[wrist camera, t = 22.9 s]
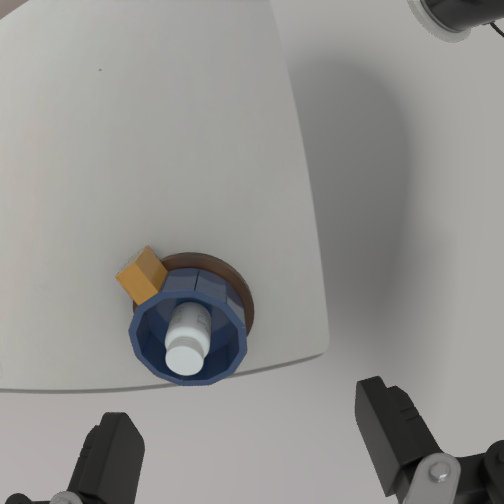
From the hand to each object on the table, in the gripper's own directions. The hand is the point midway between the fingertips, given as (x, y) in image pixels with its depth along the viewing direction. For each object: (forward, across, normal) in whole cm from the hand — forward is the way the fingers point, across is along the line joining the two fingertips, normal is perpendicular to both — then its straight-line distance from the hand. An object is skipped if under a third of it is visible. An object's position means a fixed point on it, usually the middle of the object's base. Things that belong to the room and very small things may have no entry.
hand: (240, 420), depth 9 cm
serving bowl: (+23, +7, +7) cm, 25 cm away
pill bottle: (+22, +6, +8) cm, 25 cm away
